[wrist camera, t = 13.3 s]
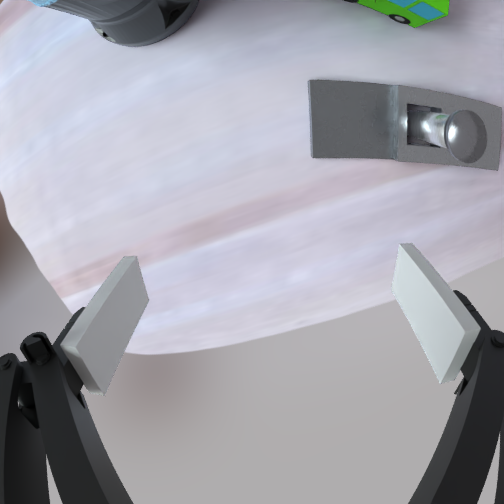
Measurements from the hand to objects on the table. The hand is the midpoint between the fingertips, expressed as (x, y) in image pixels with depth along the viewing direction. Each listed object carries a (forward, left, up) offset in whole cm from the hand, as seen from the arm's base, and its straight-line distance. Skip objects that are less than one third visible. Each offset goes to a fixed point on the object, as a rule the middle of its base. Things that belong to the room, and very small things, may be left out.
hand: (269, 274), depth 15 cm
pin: (-6, +21, -27) cm, 34 cm away
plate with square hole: (-6, +21, -27) cm, 34 cm away
